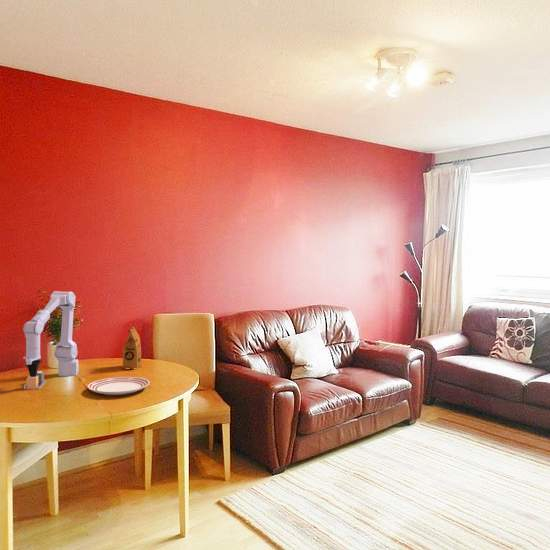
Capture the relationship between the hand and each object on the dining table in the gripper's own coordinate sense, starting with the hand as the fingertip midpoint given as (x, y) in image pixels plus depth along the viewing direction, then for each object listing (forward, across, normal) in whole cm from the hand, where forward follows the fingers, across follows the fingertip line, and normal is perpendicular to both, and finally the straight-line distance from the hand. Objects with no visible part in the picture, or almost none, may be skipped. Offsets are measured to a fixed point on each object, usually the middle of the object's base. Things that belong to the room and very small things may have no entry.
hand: (33, 376), depth 216 cm
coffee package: (+6, -39, +40) cm, 56 cm away
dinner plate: (+7, +4, +38) cm, 39 cm away
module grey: (+5, -8, 0) cm, 10 cm away
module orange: (+5, 0, 0) cm, 5 cm away
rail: (+6, -4, 0) cm, 7 cm away
